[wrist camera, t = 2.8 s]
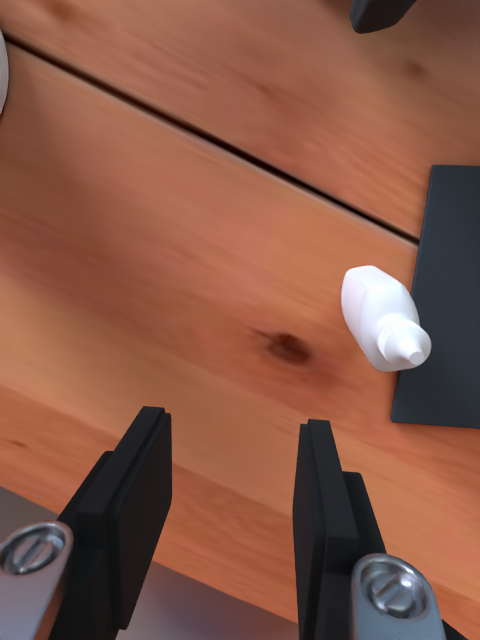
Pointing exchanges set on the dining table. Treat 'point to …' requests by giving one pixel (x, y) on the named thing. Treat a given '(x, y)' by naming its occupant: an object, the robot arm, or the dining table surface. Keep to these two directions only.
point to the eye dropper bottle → (383, 320)
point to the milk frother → (377, 14)
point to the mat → (446, 306)
